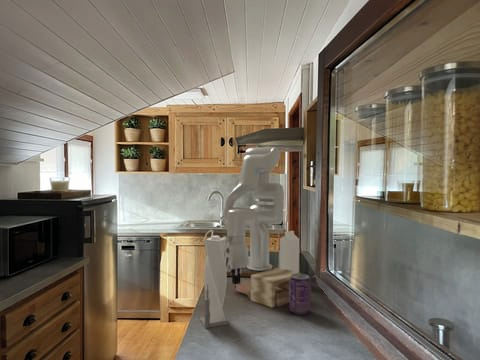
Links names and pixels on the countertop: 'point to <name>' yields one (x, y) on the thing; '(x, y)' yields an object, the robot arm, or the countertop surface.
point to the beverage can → (300, 294)
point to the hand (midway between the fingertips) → (236, 283)
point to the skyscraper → (214, 281)
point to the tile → (248, 288)
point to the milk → (289, 252)
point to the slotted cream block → (271, 287)
